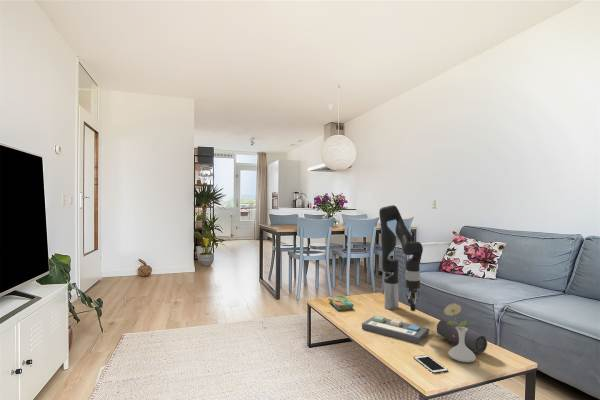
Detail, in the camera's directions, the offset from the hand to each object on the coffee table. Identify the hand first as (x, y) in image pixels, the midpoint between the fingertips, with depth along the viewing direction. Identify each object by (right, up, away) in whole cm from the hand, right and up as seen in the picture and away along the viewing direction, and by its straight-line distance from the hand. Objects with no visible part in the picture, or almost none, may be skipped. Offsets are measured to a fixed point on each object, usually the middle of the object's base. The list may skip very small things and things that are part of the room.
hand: (413, 310), depth 176 cm
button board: (-9, -13, +4) cm, 16 cm away
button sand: (-8, -11, +6) cm, 15 cm away
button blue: (0, -12, -1) cm, 12 cm away
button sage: (-15, -11, +12) cm, 23 cm away
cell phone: (-4, -13, -33) cm, 36 cm away
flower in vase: (+12, -13, -28) cm, 33 cm away
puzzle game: (-33, -14, +50) cm, 62 cm away
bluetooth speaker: (+18, -13, -15) cm, 27 cm away
